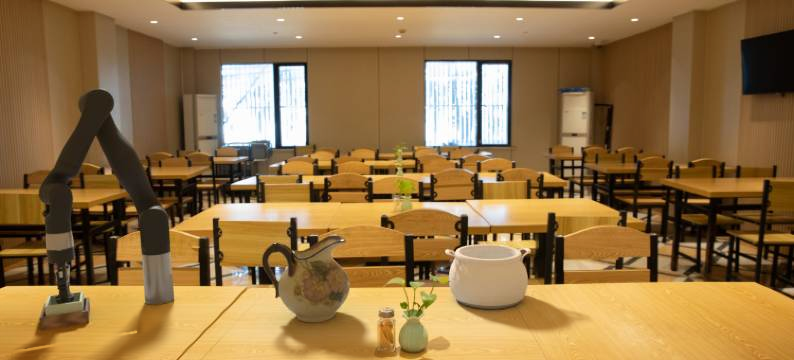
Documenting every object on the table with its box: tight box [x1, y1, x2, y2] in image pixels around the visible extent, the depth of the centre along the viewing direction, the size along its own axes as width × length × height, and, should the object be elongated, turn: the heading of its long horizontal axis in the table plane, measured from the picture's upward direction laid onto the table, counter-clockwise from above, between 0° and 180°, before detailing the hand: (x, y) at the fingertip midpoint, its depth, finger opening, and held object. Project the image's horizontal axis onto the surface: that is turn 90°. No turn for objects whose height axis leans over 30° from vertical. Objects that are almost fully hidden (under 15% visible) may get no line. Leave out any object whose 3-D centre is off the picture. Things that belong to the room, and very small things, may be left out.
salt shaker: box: [54, 281, 75, 304], centre depth 190 cm, size 6×6×12 cm
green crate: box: [45, 290, 85, 316], centre depth 191 cm, size 10×12×6 cm
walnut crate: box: [39, 296, 91, 331], centre depth 191 cm, size 13×15×4 cm
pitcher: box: [261, 234, 351, 323], centre depth 190 cm, size 22×24×25 cm
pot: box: [444, 243, 532, 310], centre depth 205 cm, size 29×26×17 cm
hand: (65, 298), depth 191 cm, fingers closed on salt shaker, 5 cm apart
